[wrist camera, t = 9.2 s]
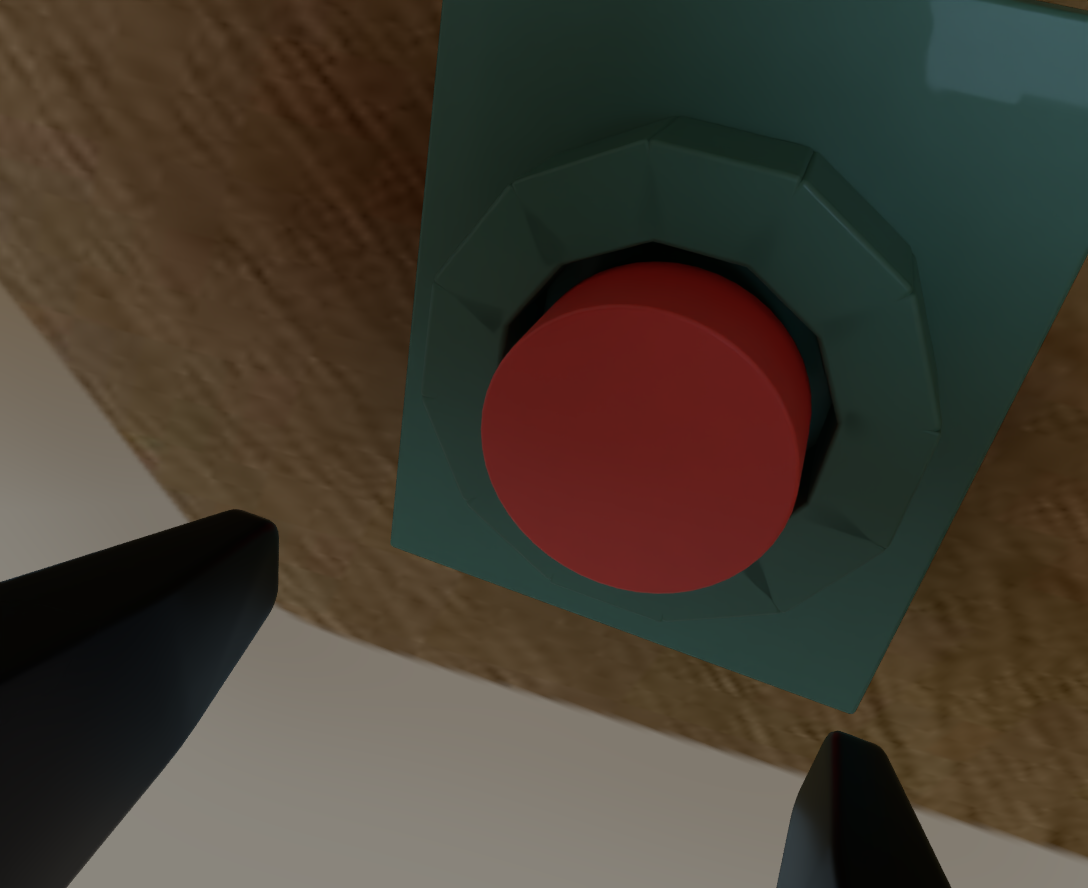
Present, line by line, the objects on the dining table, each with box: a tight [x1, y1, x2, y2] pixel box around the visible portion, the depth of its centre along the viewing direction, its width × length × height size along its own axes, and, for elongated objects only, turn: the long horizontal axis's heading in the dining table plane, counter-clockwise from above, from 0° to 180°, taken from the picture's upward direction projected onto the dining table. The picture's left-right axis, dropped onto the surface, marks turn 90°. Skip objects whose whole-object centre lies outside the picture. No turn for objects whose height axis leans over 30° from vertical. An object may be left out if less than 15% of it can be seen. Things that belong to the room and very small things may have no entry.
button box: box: [391, 0, 1088, 714], centre depth 14 cm, size 11×9×4 cm
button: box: [481, 261, 812, 594], centre depth 12 cm, size 4×4×2 cm
